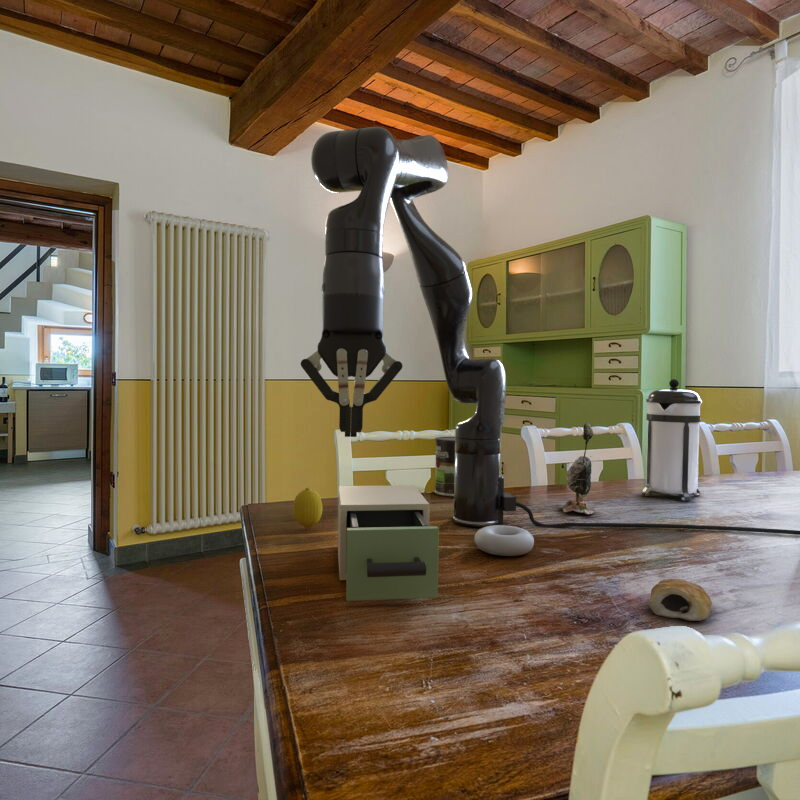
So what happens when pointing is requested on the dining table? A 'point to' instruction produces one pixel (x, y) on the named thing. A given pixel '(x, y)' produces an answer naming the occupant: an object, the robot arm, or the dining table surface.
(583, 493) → the stone sculpture
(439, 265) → the robot arm
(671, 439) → the coffee press
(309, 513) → the lemon
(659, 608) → the pastry
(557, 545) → the dining table surface
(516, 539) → the donut
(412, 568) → the drawer
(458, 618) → the dining table surface
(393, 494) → the small bedside cabinet
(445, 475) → the coffee can
